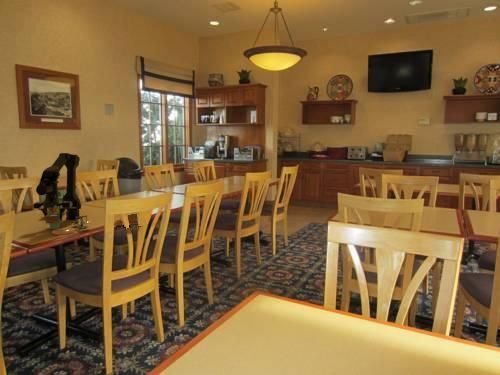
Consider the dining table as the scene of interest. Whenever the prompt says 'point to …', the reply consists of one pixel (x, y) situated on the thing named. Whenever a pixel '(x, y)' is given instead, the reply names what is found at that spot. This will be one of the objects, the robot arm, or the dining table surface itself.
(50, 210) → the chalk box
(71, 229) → the dish
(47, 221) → the sleeve
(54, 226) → the block
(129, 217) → the stone cup
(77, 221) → the balance
